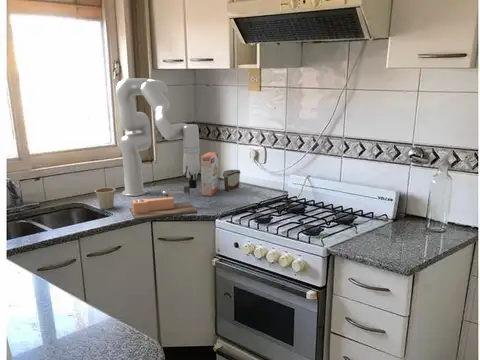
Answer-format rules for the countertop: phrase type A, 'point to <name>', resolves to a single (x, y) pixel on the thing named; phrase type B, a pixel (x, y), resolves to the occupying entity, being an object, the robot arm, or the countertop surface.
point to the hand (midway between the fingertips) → (193, 187)
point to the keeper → (185, 192)
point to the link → (152, 204)
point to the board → (166, 211)
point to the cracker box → (209, 173)
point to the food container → (231, 179)
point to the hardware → (164, 197)
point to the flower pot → (105, 197)
